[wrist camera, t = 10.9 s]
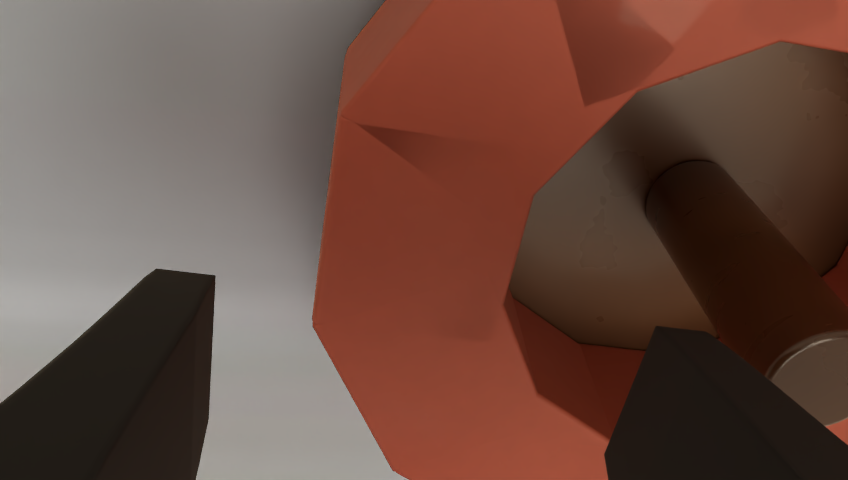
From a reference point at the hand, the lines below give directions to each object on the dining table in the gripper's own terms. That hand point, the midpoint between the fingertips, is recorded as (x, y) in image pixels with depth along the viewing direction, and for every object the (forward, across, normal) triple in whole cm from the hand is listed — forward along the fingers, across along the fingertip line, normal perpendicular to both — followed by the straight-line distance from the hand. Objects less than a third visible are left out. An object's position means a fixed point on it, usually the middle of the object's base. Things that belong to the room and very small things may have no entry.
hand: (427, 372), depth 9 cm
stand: (+6, -5, 0) cm, 8 cm away
